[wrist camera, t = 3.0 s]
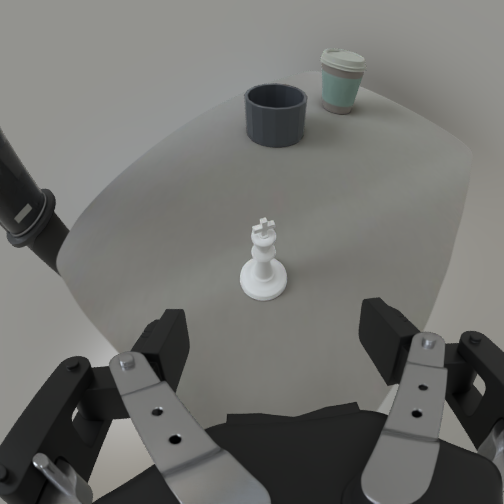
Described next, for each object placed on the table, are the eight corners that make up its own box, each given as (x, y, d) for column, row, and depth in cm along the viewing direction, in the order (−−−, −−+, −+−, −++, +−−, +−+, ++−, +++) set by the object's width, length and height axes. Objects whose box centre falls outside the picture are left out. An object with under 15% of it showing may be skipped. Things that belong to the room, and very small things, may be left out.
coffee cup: (341, 96, 50) (349, 48, 40) (365, 116, 46) (377, 63, 35) (307, 99, 49) (312, 47, 38) (330, 120, 44) (338, 62, 34)
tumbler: (250, 150, 40) (248, 111, 34) (243, 119, 45) (241, 85, 39) (310, 145, 40) (314, 108, 34) (295, 115, 45) (297, 82, 39)
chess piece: (294, 290, 28) (308, 236, 20) (249, 307, 27) (243, 258, 19) (276, 252, 31) (280, 189, 22) (233, 266, 30) (222, 206, 21)
